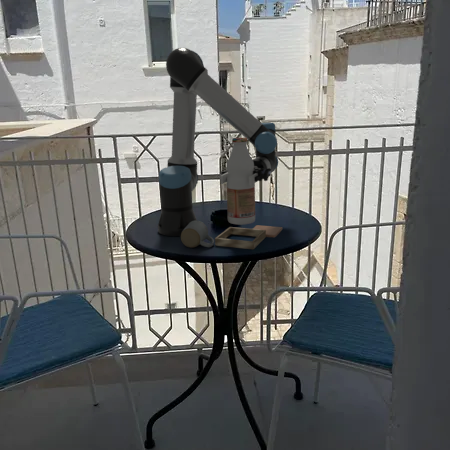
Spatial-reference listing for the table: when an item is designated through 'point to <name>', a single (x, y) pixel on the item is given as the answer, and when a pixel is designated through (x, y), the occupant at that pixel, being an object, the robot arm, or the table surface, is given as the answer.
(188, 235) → the ceramic mug
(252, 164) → the fruit juice
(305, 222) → the table surface
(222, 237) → the birch collar
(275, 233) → the terracotta tile
